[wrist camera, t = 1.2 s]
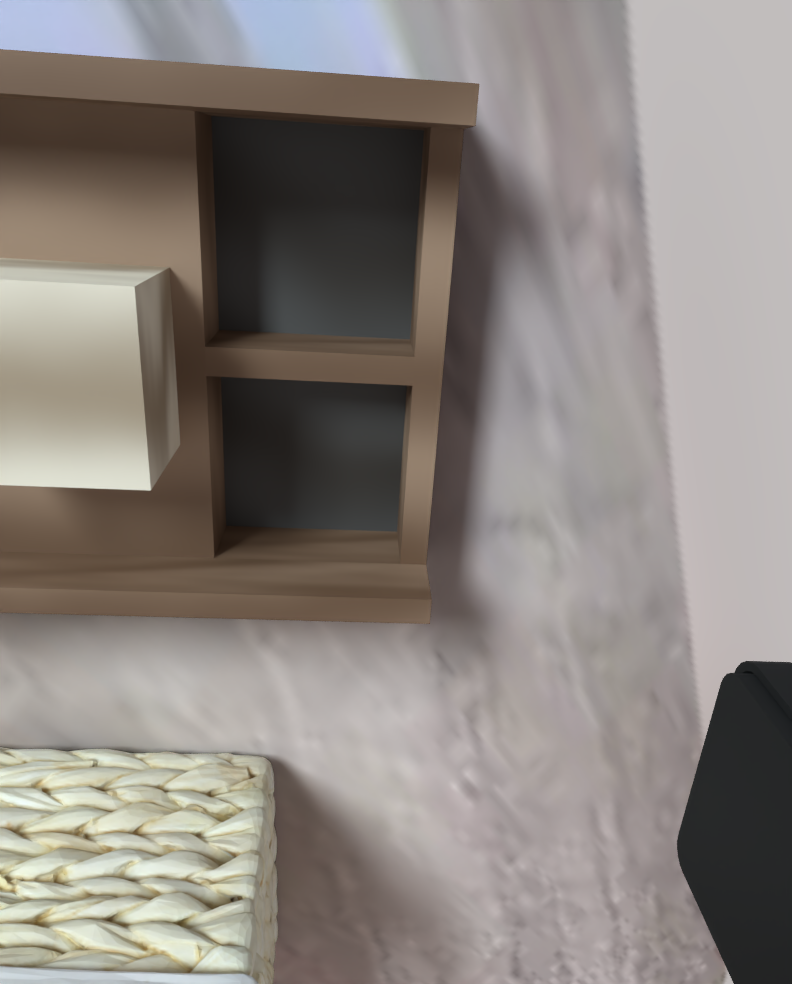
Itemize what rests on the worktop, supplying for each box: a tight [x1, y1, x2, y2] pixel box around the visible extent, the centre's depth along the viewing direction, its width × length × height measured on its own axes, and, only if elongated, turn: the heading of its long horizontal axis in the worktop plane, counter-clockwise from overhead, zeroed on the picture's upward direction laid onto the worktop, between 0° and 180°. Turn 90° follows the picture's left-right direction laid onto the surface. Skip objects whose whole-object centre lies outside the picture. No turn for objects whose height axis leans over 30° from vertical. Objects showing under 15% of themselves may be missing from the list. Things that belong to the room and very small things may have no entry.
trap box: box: [0, 49, 479, 624], centre depth 24 cm, size 17×24×6 cm
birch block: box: [0, 258, 180, 491], centre depth 23 cm, size 6×6×4 cm
